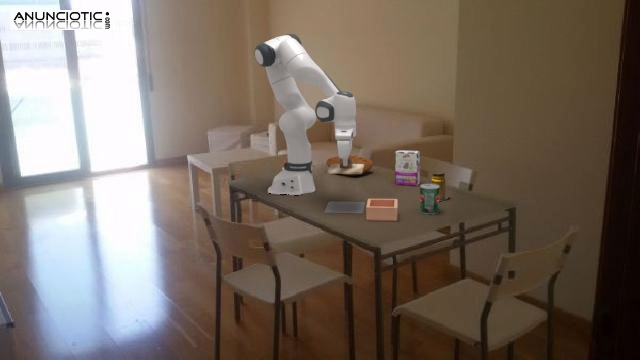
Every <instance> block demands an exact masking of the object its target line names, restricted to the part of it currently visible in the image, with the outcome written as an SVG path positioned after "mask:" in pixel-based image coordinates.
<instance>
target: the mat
mask: <svg viewBox="0 0 640 360" xmlns="http://www.w3.org/2000/svg"><path fill="white" fill-rule="evenodd" d="M365 206H366V201H328V203H327V205H326V207H325V209H324V213H327V214H329V213H330V214H338V213H339V214H364V210H365Z"/></svg>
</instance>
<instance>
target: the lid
mask: <svg viewBox="0 0 640 360" xmlns="http://www.w3.org/2000/svg"><path fill="white" fill-rule="evenodd" d="M363 168H364V164H352V159H348V165H347V166H343V159H340V164H331V166H330V168H329V167H328V169H327V174H334V175H335V174H340V175H341V174H342V175H345V174H360V175H362V171H363Z"/></svg>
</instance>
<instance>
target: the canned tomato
mask: <svg viewBox="0 0 640 360" xmlns="http://www.w3.org/2000/svg"><path fill="white" fill-rule="evenodd" d="M439 187H440V186H439V185H437V184H431V183H422V184H419V213H421V214H423V215H429V214H432V215H437V214H439V213H438V212H440V202H439ZM436 213H437V214H436Z"/></svg>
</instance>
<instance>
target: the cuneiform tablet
mask: <svg viewBox="0 0 640 360" xmlns="http://www.w3.org/2000/svg"><path fill="white" fill-rule="evenodd" d="M349 159H352V164H364V168H363V171H362V174H363V175H364V174H365V173H367V172H369V171H370V170H371V169H373V167H374V163H373V160H371V159H368V158H365V157H361V156H357V155H351V154H349ZM331 164H340V158H339V155H337V156H333V157H330V158H327V160H326V166H327V167H328V169H329V168H330V166H331ZM362 174H344V175H346V176H360V175H362Z"/></svg>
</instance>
